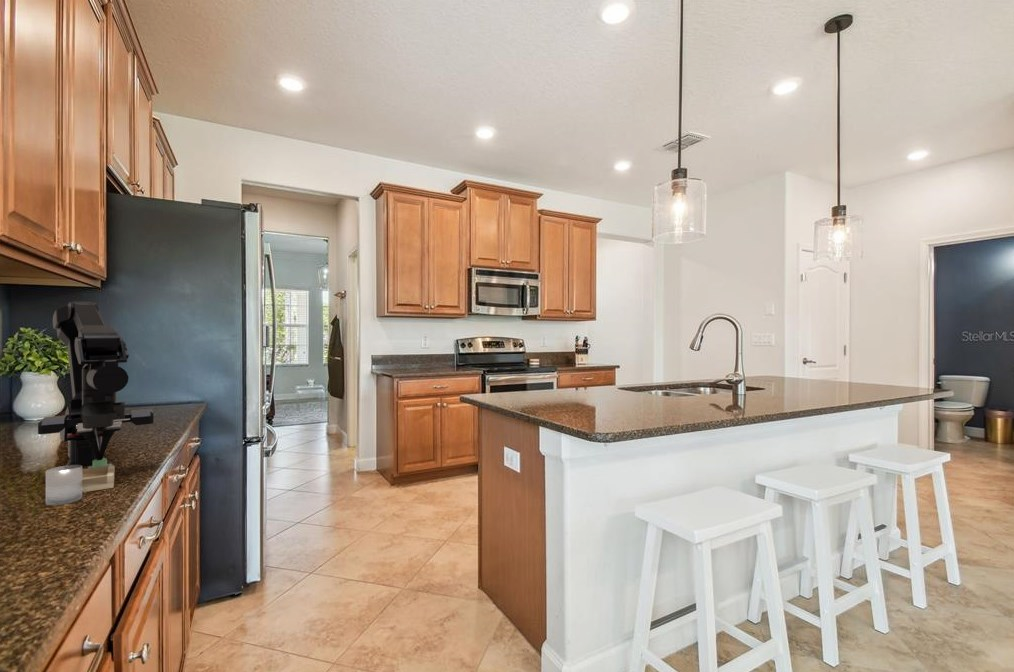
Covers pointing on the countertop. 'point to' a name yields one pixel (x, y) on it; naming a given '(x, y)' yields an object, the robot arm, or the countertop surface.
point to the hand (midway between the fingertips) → (99, 459)
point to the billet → (63, 484)
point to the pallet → (97, 478)
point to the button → (99, 463)
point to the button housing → (92, 466)
